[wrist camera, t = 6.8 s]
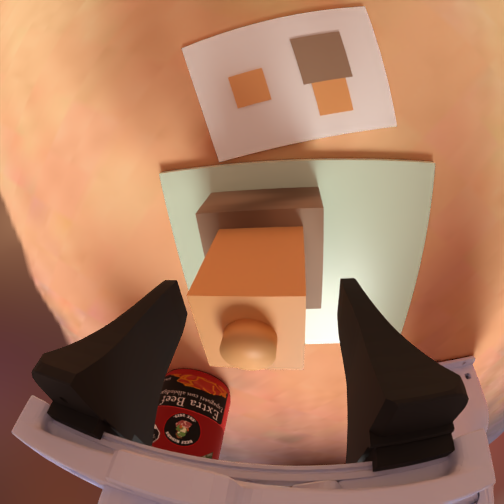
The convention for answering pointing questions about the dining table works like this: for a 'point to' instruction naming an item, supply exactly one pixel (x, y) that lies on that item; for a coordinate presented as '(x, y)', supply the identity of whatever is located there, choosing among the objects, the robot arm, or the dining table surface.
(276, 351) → the brick
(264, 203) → the base block
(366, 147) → the dining table surface
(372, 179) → the board
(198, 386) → the canned food
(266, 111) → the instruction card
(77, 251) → the dining table surface
